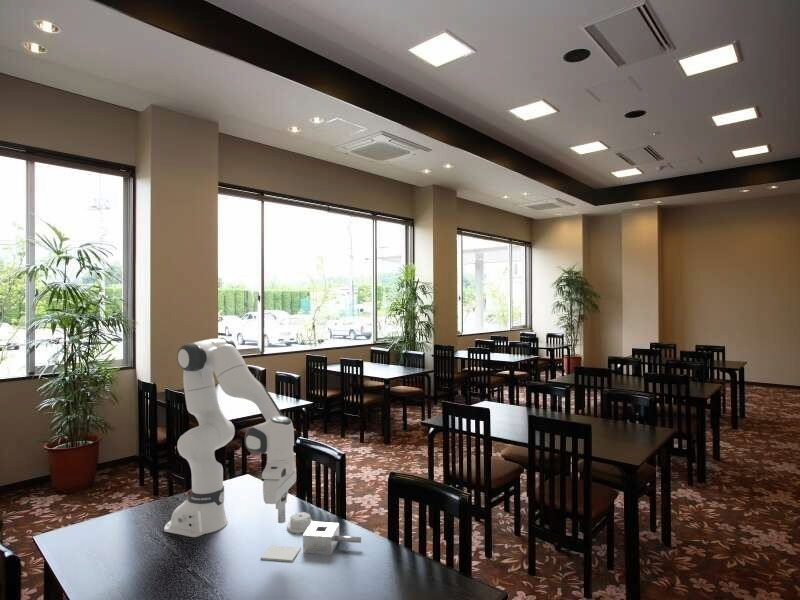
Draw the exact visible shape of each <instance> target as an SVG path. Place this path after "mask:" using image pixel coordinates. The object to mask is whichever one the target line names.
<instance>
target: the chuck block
mask: <svg viewBox="0 0 800 600" xmlns="http://www.w3.org/2000/svg"><path fill="white" fill-rule="evenodd" d="M339 542H343V543H357V544H362V543H361V542H362V537H361V536H351V535H350V536H348V535H340V523H339V522H327V521H326V522H325V521H315V520H313V521H312V523H311V524H310V526H309V527H308V529H307V530H306V531H305V532H303V534H302V552H303V553H306V554H317V555H318V554H319V555H332V554H333V553H334V550H335V549H336V547H337V545H338V543H339ZM303 553H302V554H303Z"/></svg>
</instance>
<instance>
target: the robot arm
mask: <svg viewBox="0 0 800 600" xmlns="http://www.w3.org/2000/svg"><path fill="white" fill-rule="evenodd" d="M176 360H177V364H178V365H179V367H180V368H181V369H182V370H183V373H182V374H183V375H182V377H183V379H182V380H183V383H182V384H183V390H184V391H183V392H184V398H185V399H184V400H185V405H186V409H187V411H188V414H191V415H192V416H194V417H195V419H196V420H197V422H198V426H195V427H193V428H191V429H189V430H187V431H185V432H184V433H183V434H182V435H180V436H179V439H178V440H177V445H176V448H177V451H178V454H179V455H180V456H181V457H182V458H183V459H185V460H186V461H187V463H188V465H189V467H190V472H191V489H189V490H188V491H187V492H185V496H184V497H187V499H186V500H185V501H183V502H182V503H181V504H180V505H178V506H177V507H176V508H175V509H174V510H173V511H172V514H171V518H170V520H169V521H168V522H167V523H166V524H165V526H164V527H163V532H165V533H170V534H175V535H176V534H177V535H181V536H185V537H191V538H198V537H200V536H203V535H205V534H210V533H214V532H217V531H220V530H222V529H223V528H225V526H227V524H228V518H227V516H226V515H227V514H226V510H225V504H224V503H225V502H224V501H225V485H224V468H223V465H222V463H220V462H218V461H217V460H216V456H215V452H216V450H219V449H220V448H222V447H225V446H226V445H228V443H230V442H231V441H232V440H233V438H234V436H235V432H236V429H235V426H234V424H233V423H232V421H231V420H229V419H227V418H226V417H225V415H224V413H223V412H222V410H221V407H220V404H219V400H218V396H217V394H218V393H217V390H216V389H217V388H216V382H215V377H216V380H217V383H218V384H219V387H220V389H221V390H222V391H223V393H224V394H226V396H227V395H228V396H230V397H231V398H232V397H233V398H237V399H244V400H247V401H249V402H252V403H253V404H255V405H256V406H257V408H258V410H259V411H260V413H261V414H262V416H263V418H264V419H265V422H262V423H258V424H256V425H253V426H251V427H248V429H247V430H246V432H245V435H244V445H245V447H246V450H247V451H248V452H249V453H251V454H253V455H254V454H255V455H260V454H262V455H263V454H265V455H267V462H266V465H265V468H264V469H263V471H262V473H261V479H263V482H262V493H263V495H262V496H263V502H264V503H265V504H266V505H268V504H269V505H274V504H275V510H278V509H281V508H282V502H281V498H282V496H283V495H284V494H285V495H286V500H285V504H287V501H288V500H287V499H288V494H289V489H290V488H291V487H292V486H293V485H294V484H295V483H296V481H297V466H296V463H295V452H294V445H295V431H294V425H293V422H292V420H291V418H289V417H287V416H285V415H284V414H283V413H282V411H281V409H280V408H279V407H278V405H277V404H276V402H275V401H274V398H273V397H272V395H271V394H270V393H269V391H268V390H267V388H266V387H265V386H264V384H263V383H262V382H260V381H259V380H258V379H257V378H256V377H255V376H254V375H253V373H252V372H251V371H250V370H249V367H248V366H247V364H246V362H245V359H244V358H243V356H242V355H241V353H240V351H239V350H238V349H237V347H236V343H235V342H234V340H232V339H231V338H227V337H219V338H207V339H203V340H199V341H195V342H188V343H185V344H183V345H181V346H180V347H179V349H178V351H177V357H176ZM214 375H215V377H214Z"/></svg>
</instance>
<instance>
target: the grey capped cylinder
mask: <svg viewBox="0 0 800 600" xmlns="http://www.w3.org/2000/svg"><path fill="white" fill-rule="evenodd" d="M285 500H286V495H285V494H284V495H283V496H282V498H281V502H282V508H281V509H277V522H278V524H284V523H286V503H285Z"/></svg>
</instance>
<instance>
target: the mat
mask: <svg viewBox="0 0 800 600" xmlns="http://www.w3.org/2000/svg"><path fill="white" fill-rule="evenodd" d="M301 549H302V548H301V547H299V546H286V545H285V546H284V545H273V544H272V545H271V544H270V545H269V547H268V548H267V549H266V550H265V552H264V553H263V554H262V555H261V557H260V560H261V561H262V560H263V561H274V562H275V561H278V562H290V563H293V561H294V560H295V559H296V558H297V556H298V554H299V553H300V551H301Z"/></svg>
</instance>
